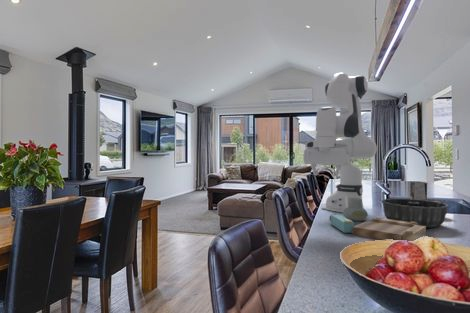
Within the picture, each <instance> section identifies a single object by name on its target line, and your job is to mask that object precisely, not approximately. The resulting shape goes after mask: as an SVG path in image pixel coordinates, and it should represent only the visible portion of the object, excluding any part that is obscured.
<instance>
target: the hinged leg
mask: <svg viewBox="0 0 470 313" xmlns="http://www.w3.org/2000/svg"><path fill="white" fill-rule="evenodd" d="M328 219H329V221H330V225H332V226H334V227H335V228H336V229H338V230H339V231H341V232H342V233H352V231H353V227H354V226H355V221H352V220H349V219H347V218H345V217H344V215H343V214H342V215H341V214H336V213H332V214H330V215H329V218H328Z"/></svg>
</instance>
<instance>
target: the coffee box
mask: <svg viewBox="0 0 470 313" xmlns="http://www.w3.org/2000/svg"><path fill="white" fill-rule="evenodd" d="M408 186H409V187H408V199H417V200H427V199H428V183H427V182H425V181H408ZM427 201H428V200H427Z"/></svg>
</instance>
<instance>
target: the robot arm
mask: <svg viewBox="0 0 470 313" xmlns="http://www.w3.org/2000/svg"><path fill="white" fill-rule="evenodd" d="M368 86H369V85H368V81H367V78H366V77H365V76H364V75H356V76H349V75H348V74H347V73H344V72H338V73H335V74H334V75H333V76H332V77H331V79H330V80H329V81H328V82H327V83H326V85H325V86H324V93H325V96H326V100H327V102H328V103H329V104H330V105H331V106H322V107H321V106H320V107H319V108H317V112H316V116H315V131H316V132H315V133H316V134H315V139H314V140H311V141H308V142H306V143H304V147H305V149H304V150H303V160H302V161H303V163H304V165H310V168H311V170H312V171H313V173H312V175H314V176H319V170H317V169H316V167H317V165H320V166H335V168H336V170H335V171H333V173H332V174H333V175H332V176H333V177H339V180H340V181H339V184H337V185H336V186H335V189H336V191H334V192H333V193H331V194H330V195H329V196H328V197H327V198H326V201H325V204H324V205H322V206H321V210H326V211H333V212H338V213H341V214H343V211H344V210H345V209H346V208H348V207H349V198H359V199H362V200H363V191H364V190H363V188H364V187H363V184H362V182H363V180H362V179H363V177H362V174H363V172H362V169H361V168H360V167H359V166H357V165H355V164H353V163H351V160H367V159H370V158H373V157H374V156H375V155H376V153H377V152H378V151H377V150H378V147H377V144H376V141H374V140H373V139H372V138H371V137H369V136H368V135H367V134H366V132H365V130H364V128H363V123H362V108H361V103H360V100H361V99H362V98H363V97H364V96H365V95H366V93H367V91H368ZM336 108H340V110H339V115H337V110H336ZM362 208H363V209H365V207H364V203H363V201H362Z"/></svg>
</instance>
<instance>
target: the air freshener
mask: <svg viewBox="0 0 470 313" xmlns="http://www.w3.org/2000/svg"><path fill="white" fill-rule="evenodd" d="M362 202H363V198H362V199H359V198H349V207H348V208H346V209H345V210H344V211H343V213H342V216H343V217H345V218H347V219H349V220H352V222H361V221H363V220H365V219H367V217H368V211H367V210H366V209H365V208H364V209H363V208H362Z"/></svg>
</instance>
